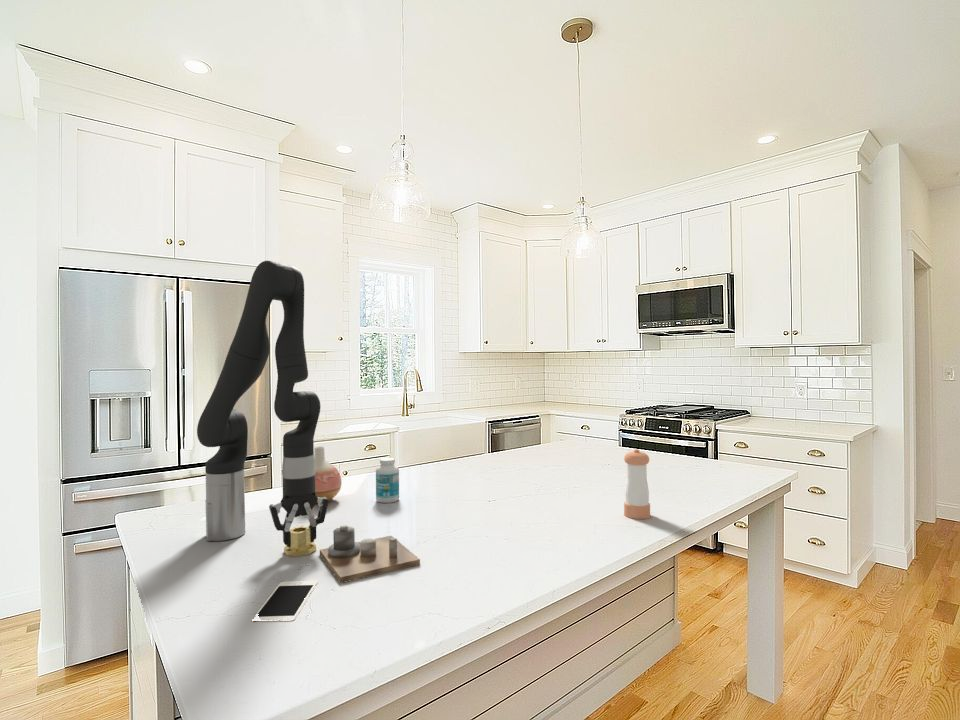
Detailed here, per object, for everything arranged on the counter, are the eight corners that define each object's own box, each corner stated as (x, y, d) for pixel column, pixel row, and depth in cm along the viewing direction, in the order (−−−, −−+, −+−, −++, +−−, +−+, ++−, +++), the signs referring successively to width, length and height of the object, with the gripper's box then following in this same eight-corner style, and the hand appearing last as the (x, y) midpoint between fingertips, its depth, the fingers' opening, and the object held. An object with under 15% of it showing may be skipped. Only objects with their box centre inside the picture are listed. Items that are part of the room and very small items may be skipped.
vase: (314, 510, 160) (313, 452, 160) (289, 502, 168) (288, 448, 168) (350, 499, 171) (349, 446, 171) (324, 493, 179) (324, 442, 179)
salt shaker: (651, 519, 147) (651, 452, 147) (625, 518, 149) (624, 451, 148) (648, 512, 154) (648, 447, 154) (623, 510, 156) (622, 446, 156)
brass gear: (287, 558, 122) (287, 536, 122) (282, 549, 128) (282, 528, 128) (318, 552, 126) (317, 531, 126) (311, 543, 132) (311, 523, 132)
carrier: (340, 583, 109) (340, 548, 109) (319, 554, 124) (319, 524, 124) (420, 564, 118) (419, 532, 118) (391, 540, 134) (391, 512, 133)
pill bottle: (371, 502, 168) (370, 460, 168) (385, 496, 175) (385, 456, 175) (389, 504, 165) (389, 462, 165) (403, 498, 171) (403, 457, 171)
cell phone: (318, 583, 110) (318, 580, 110) (294, 623, 94) (294, 619, 94) (280, 584, 110) (280, 581, 110) (250, 624, 93) (249, 621, 93)
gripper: (269, 481, 120) (271, 554, 120) (332, 473, 127) (333, 542, 127) (265, 474, 126) (266, 544, 127) (324, 467, 134) (326, 533, 134)
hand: (300, 543), depth 127 cm, fingers closed on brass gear, 4 cm apart
